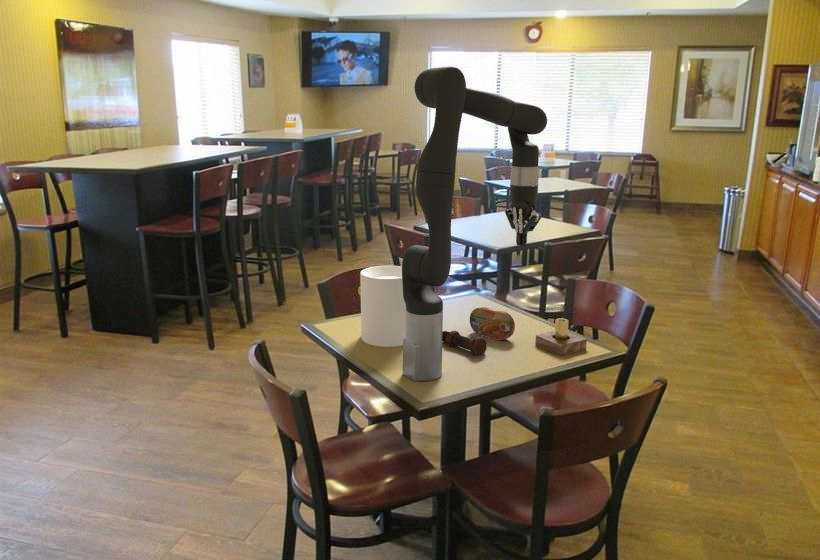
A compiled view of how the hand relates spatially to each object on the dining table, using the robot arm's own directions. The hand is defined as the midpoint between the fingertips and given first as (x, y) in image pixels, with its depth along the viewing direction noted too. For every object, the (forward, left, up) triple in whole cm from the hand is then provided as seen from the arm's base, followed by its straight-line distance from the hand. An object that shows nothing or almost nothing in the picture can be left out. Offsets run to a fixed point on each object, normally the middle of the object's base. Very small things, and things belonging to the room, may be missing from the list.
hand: (521, 245), depth 183 cm
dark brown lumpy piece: (-16, +6, -29) cm, 34 cm away
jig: (+9, -8, -29) cm, 31 cm away
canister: (-29, +24, -29) cm, 48 cm away
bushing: (+9, -8, -29) cm, 31 cm away
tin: (-2, +9, -29) cm, 31 cm away
